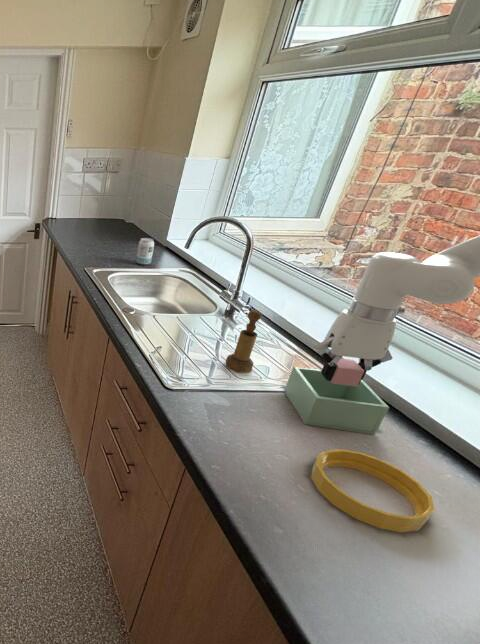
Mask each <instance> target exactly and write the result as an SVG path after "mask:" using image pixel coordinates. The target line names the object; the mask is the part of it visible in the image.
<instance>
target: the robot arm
mask: <svg viewBox="0 0 480 644" xmlns="http://www.w3.org/2000/svg"><path fill="white" fill-rule="evenodd" d="M479 277H480V235H477V236H475V237H472V238H470V239H467V240H465V241H462V242H460V243H458V244H456V245H453V246H450V247H448V248H447V249H444V250H442V251H439V252H437V253H435V254H433V255H431V256H429V257H427V258H426V259H424V260H423V261H422V262H421V261H420V260H419V259H418V258H417V257H415V256H412V255H410V254H406V253H399V252H392V251H382V252H377V253H375V254H374V255H372V256H371V258H370V259H369V261H368V263H367V266H366V267H365V270H364V273H363V275H362V277H361V279H360V282H359V284H358V287H357V289H356V291H355V293H354V295H353V297H352V300H351V302H350V304H349V306H348V309H343V310H341V312H340V313H339V314H338V315H337V316H336V318H335V319H334V322H333V323H332V324H331V326H330V328H329V329H328V331H327V333H326V335H325V337H324V339H323V341H321V342H319V343H318V344H316V345H314V346H313V350H315V352H316V353H317V354H319V356H321V357H322V358H323V360H324V364H323V367H322V368H321V370H322V371H321V373H322V375H323V376H324V378H325V379H326V380H327V381H331V379H332V377H333V375H334V373H335V370H336V368H337V367H336V366H335V365H336V363H337V362H338V361H339V360H340V359H343V357H344V358H353V359H354V358H355V359H358V363H357V362H356V363H357V364H358V365H359V366H360V367H361V368H362V369H363V370H364V373H363V375H362V377H361V379H360V381H361V380H364V377H365V376H366V373H367V372H368V371H371V370H372V369H373V368H374V367H377V366H378V365H381V364H382V363H386V362H389V361H392V360H393V356H392V354H391V352H390V349H389V348H390V346H391V344H392V341H393V338H394V336H395V331H396V326H397V319H396V318H397V315H399V314H400V315H401V314H402V315H403V314H404V313H405V311H406V309H405V307H401V306H402V304H403V302H404V300H405V298H406V296H409V297H413V298H416V299H419V300H421V301H424V302H429V303H433V304H437V305H438V304H439V305H447V304H448V305H449V304H450V305H451V304H457V303H458V302H463V300H466V299H467V298H468V297H469V296H471V295H472V294H473V291H474V290H475V289H474V288H475V279H476V278H479ZM329 348H330V350H329V351H328V352H327V351H326V350H327V349H329ZM360 381H359V383H360ZM358 385H359V384H358Z"/></svg>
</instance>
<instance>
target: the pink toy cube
mask: <svg viewBox="0 0 480 644" xmlns="http://www.w3.org/2000/svg"><path fill="white" fill-rule="evenodd" d="M335 366H336V367H337V368H336V370H335V373H334V375H333V377H332V379H331V382H332V384H340V385H347V386H355V387H357V386H358V384H359V381H360V379H361V377H362V375H363V373H364V370H363V369H362V368H361V367H360V366H359V365H358V364H357V361H356V360H354V359H350V358H349V359H348V358H341V359H340V360H339V361H338V362H337V363H336V365H335Z"/></svg>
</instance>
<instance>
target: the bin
mask: <svg viewBox="0 0 480 644" xmlns="http://www.w3.org/2000/svg"><path fill="white" fill-rule="evenodd" d="M321 371H322V369H316V368H309V367H300V366H293V367H292V370H291V372H290V374H289V377H288V380H287V382H286V385H285V387H284V390H283V392H284V394H285V395H286V397H287V398H288V400H289V402H290V403H291V404H292V406H293V408H294V409H295V412H296V413H297V414H298V416H299V417H300V419H301V420H302V422H303V423H304V425H306V426H314V427H321V428H326V429H327V428H328V429H333V430H341V431H347V432H352V433H353V432H354V433H359V434H367V435H373V436H374V435H376V434H377V431H378V430H379V428H380V426H381V424H382V422H383V421H384V420H385V419H384V418H385V417H386V415H387V413H388V411H389V409H390V407H389V405H388V404H387V403H386V402H385V401H384V400H383V399H382V398H381V397H380V396H379V395H378V394H377V393H376V392H375V391H374V390H373V389H372V387H370V386H369V385H368V384H367V382H366V381H364V379H362V380H361V381H360V383H359V385H358V386H357V387H355V386H347V385H340V384H332V382H331V381H327V380H326V379H325V378H324V376H323V375H322V373H321Z"/></svg>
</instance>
